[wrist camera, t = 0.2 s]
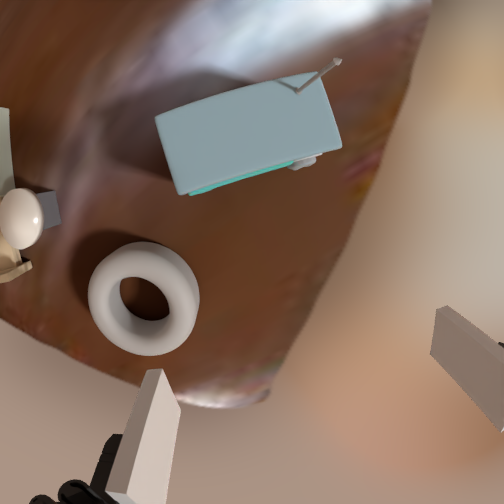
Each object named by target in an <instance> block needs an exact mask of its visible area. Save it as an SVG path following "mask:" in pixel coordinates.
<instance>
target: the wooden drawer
mask: <svg viewBox="0 0 504 504" xmlns="http://www.w3.org/2000/svg"><path fill="white" fill-rule="evenodd" d="M3 198H4V197H0V205H1V202H2V200H3ZM31 268H33V267H32V264H31V261H28V262H24V263H22V260H21V256H20V253H19V249H16V248H14V247H12V246H11V245H9V244H8V242H7V241H6V240H5V238H4V236H3V234H2V232H1V229H0V283H3V282H8V281H11V280H13V279H14V278H16V277H18V276H19V275H21V274H23V273H24V272H26V271H28V270H30V269H31Z"/></svg>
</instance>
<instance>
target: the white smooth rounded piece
mask: <svg viewBox="0 0 504 504" xmlns="http://www.w3.org/2000/svg"><path fill="white" fill-rule="evenodd" d="M43 226H44V213H43V208H42V205H41V202H40V200H39V198H38V196H37V195H36V194H35V193H34V192H33V191H32V190H30V189H28V188H18V189H13V190H11V191H9V192H8V193H7V194H6V195H5V196H4V198H3V200H2V202H1V205H0V229H1V232H2V234H3V236H4V238H5V240H6V241H7V242H8V244H9V245H11V246H12V247H14V248H16V249H25V248H27V247H29V246H31V245H33V244H35V243H36V242H37V241H38V240H39V238H40V236H41V234H42V231H43Z"/></svg>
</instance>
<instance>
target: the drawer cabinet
mask: <svg viewBox="0 0 504 504" xmlns="http://www.w3.org/2000/svg"><path fill="white" fill-rule="evenodd" d="M13 189H15V182H14V175H13V166H12V157H11V145H10V129H9V109H7V108H1V107H0V197H4V196H5V195H6V194H7V193H8V192H9V191H11V190H13Z"/></svg>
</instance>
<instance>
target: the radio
mask: <svg viewBox="0 0 504 504" xmlns="http://www.w3.org/2000/svg"><path fill="white" fill-rule="evenodd" d="M341 61H342V59H340V58H333V61H332V62H331V63H329V64H328V65H327V66H326V67H324V68H323V69H322V70H321V71H319V72H308V73H303V74H297V75H292V76H287V77H282V78H277V79H273V80H268V81H264V82H260V83H256V84H252V85H248V86H244V87H240V88H237V89H233V90H230V91H226V92H223V93H219V94H216V95H213V96H210V97H207V98H203V99H200V100H197V101H194V102H191V103H189V104H186V105H183V106H180V107H177V108H175V109H172V110H169V111H167V112H164V113H162V114H159V115H157V116H155V118H154V119H155V123H156V127H157V130H158V134H159V137H160V140H161V143H162V147H163V150H164V153H165V156H166V160H167V163H168V166H169V169H170V172H171V175H172V178H173V182H174V185H175V188H176V190H177V193H178V194H179V195H183V194H186V193H188V194H189V196H192V195H195V194H198V193H199V194H201V193H204V192H207V191H210V190H212V189H213V188H216V187H219V186H222V185H225V184H229V183H232V182H235V181H238V180H241V179H245V178H248V177H251V176H254V175H258V174H261V173H264V172H268V171H271V170H275V169H278V168H282V167H285V166H287V167H288V168H289V169H291V170H297V169H300V168H302V167H306V166H310V165H312V164H313V163H315V162H316V158H315V156H318V155H322V153H323V152H327V151H332V150H336V149H339V148H341V147H342V142H341V138H340V135H339V132H338V128H337V125H336V122H335V119H334V116H333V113H332V109H331V106H330V103H329V101H328V98H327V95H326V92H325V89H324V86H323V83H322V81H321V78H320V77H321V76H322V75H323V74H325V73H326V72H327V71H329V70H330V69H331V68H333V67H334V66H335V65H339V64H340V63H341Z"/></svg>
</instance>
